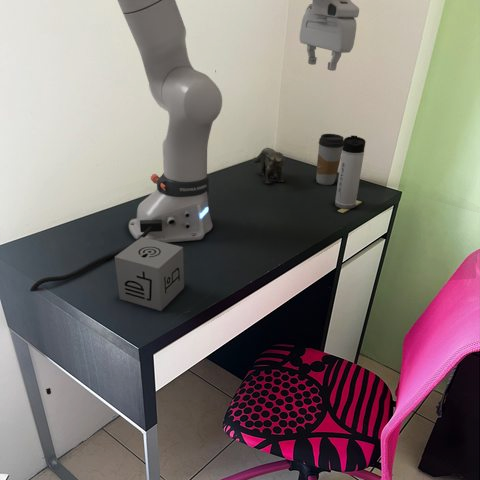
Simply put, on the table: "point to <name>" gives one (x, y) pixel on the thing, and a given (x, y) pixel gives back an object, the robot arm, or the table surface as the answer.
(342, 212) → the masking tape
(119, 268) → the icon cube
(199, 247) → the table surface
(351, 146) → the travel mug
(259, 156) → the toy dinosaur
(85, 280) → the table surface
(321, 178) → the coffee cup
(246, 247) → the table surface
